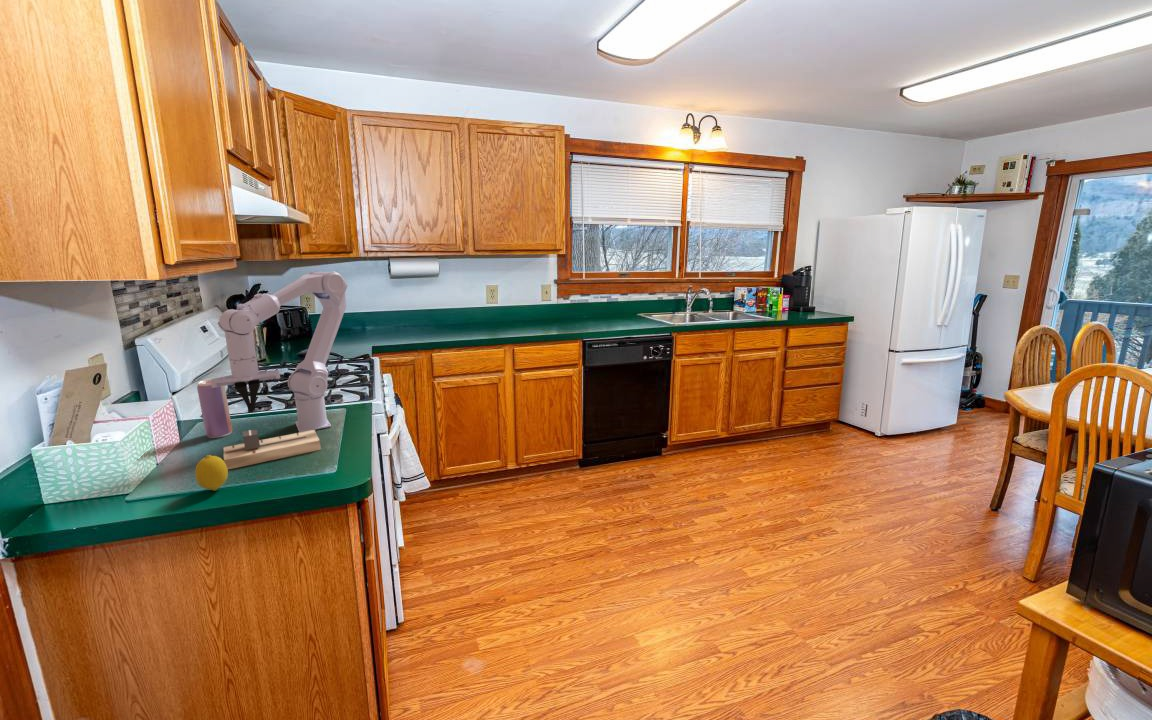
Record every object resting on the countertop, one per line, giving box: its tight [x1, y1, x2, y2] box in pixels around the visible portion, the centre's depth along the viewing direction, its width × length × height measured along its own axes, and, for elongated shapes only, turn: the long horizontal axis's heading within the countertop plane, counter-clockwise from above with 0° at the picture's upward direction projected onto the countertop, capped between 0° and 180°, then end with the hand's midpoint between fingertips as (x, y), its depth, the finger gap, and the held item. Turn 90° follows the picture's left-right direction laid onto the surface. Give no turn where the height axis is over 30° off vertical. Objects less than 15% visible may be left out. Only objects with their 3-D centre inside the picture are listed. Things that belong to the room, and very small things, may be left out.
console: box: [223, 430, 322, 470], centre depth 127 cm, size 9×20×3 cm, turn 124°
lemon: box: [194, 454, 229, 492], centre depth 108 cm, size 6×6×8 cm
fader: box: [242, 428, 260, 450], centre depth 124 cm, size 4×3×4 cm
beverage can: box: [196, 378, 233, 439], centre depth 138 cm, size 6×6×15 cm
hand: (251, 409), depth 131 cm, fingers closed
